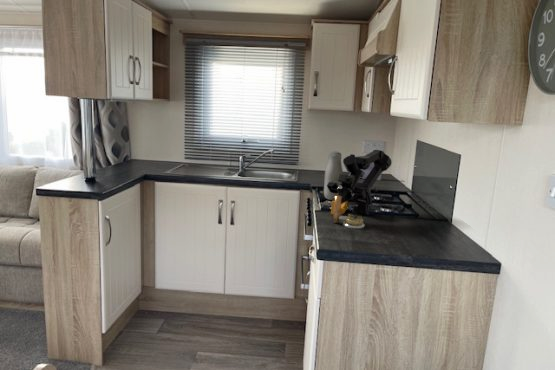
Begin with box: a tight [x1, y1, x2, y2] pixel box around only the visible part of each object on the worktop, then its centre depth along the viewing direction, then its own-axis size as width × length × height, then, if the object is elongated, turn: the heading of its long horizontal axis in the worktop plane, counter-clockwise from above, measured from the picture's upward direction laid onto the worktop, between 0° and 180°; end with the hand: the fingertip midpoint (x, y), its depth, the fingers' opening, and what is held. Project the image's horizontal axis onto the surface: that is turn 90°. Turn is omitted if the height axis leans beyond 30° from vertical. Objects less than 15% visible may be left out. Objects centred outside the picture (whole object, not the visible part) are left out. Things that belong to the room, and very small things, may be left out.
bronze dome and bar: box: [332, 195, 364, 226], centre depth 180 cm, size 14×8×12 cm, turn 70°
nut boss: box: [342, 220, 366, 230], centre depth 180 cm, size 10×10×1 cm
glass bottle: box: [323, 150, 344, 201], centre depth 227 cm, size 10×10×28 cm
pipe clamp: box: [330, 200, 349, 216], centre depth 202 cm, size 12×4×6 cm, turn 142°
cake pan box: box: [360, 162, 383, 181], centre depth 306 cm, size 19×5×18 cm, turn 84°
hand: (338, 204), depth 183 cm, fingers closed, pressing on bronze dome and bar
